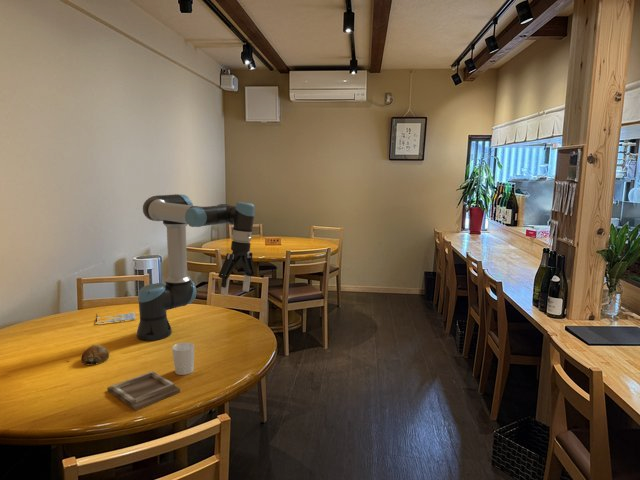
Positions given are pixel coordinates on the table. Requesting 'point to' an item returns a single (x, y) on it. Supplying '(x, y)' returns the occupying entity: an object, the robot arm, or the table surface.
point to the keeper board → (143, 390)
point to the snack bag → (127, 317)
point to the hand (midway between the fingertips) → (235, 293)
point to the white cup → (183, 358)
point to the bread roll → (95, 355)
